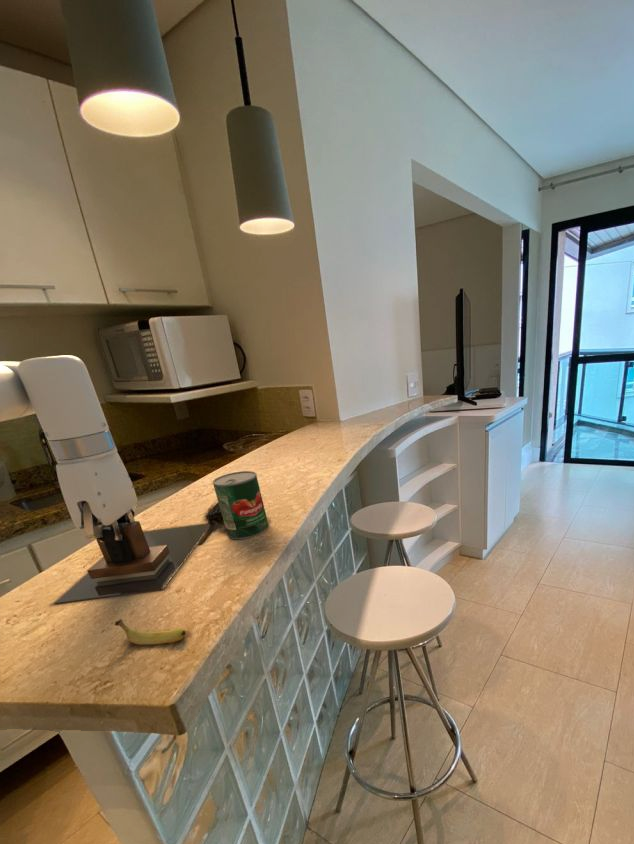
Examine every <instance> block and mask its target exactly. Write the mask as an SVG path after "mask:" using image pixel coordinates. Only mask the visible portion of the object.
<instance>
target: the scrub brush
mask: <svg viewBox="0 0 634 844" xmlns="http://www.w3.org/2000/svg"><path fill="white" fill-rule="evenodd" d="M118 526H119V528H120V531H121V534H122V538H126V539H127V541H128V544H129V546H130V549H131V551H132V554H133V556H134V560H133V561H132V562H125V563H117V564H114V563H112V561H111V558H110V556H109V553H108V551H107V549H106V546H105V544H104V543H101V542H100V540H99V539H97V538H95V540H96V542H97V545H98V547H99V549H100V552H101V553H102V557H101V558H100V559H98V561H96V562H95V563H94V564H93V565H92V566H91V567H89V568H88V569H87V574H89V576H90V578H91V579H95V580H96V582H101V581H108V580H116V579H124V578H132V577H139V576H147V575H155V573H156V572H157V571H158V570H159V569H160V567H161V566H162V565H163V564H164V563H165V562H166V560H167V559H168V555H169V553H170V552H169V549H168V546H167V545H163V546H155V547H149V546H148V544H147V541H146V538H145V536H144V533H143V532H144V530H143V528H142V525H141V522H140V520H135V521H134V522H126V523H118ZM104 529H109V530H110V531H111V528H110V527H104Z"/></svg>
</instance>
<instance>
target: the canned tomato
mask: <svg viewBox="0 0 634 844" xmlns="http://www.w3.org/2000/svg"><path fill="white" fill-rule="evenodd" d="M259 484H260V483H259V481H258V477H257V473H256V472H255V471H251V470H241V471H235V472H230V473H226V474H222V475H220V476H218V477H215V478H214V479H213V480H212V485H213V489H214V492H215V495H216V500H217V499H218V500H217V501H218V502H219V506H220V509H221V513H222V516H223V517H222V520H223V524H224V527H225V530H226V533H227V537H228V538H229V539H231V540H238V541H239V540H246V539H247V540H248V539H252V538H255V537H258V536H260V535H262V534H264V533H265V532H267V531H268V530H269V527H270V524H269V521H268V518H267V513H266V509H265V505H264V501H263V497H262V496H263V495H262V493H261V488H260V487H261V486H260V485H259ZM218 502H217V503H218Z"/></svg>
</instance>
